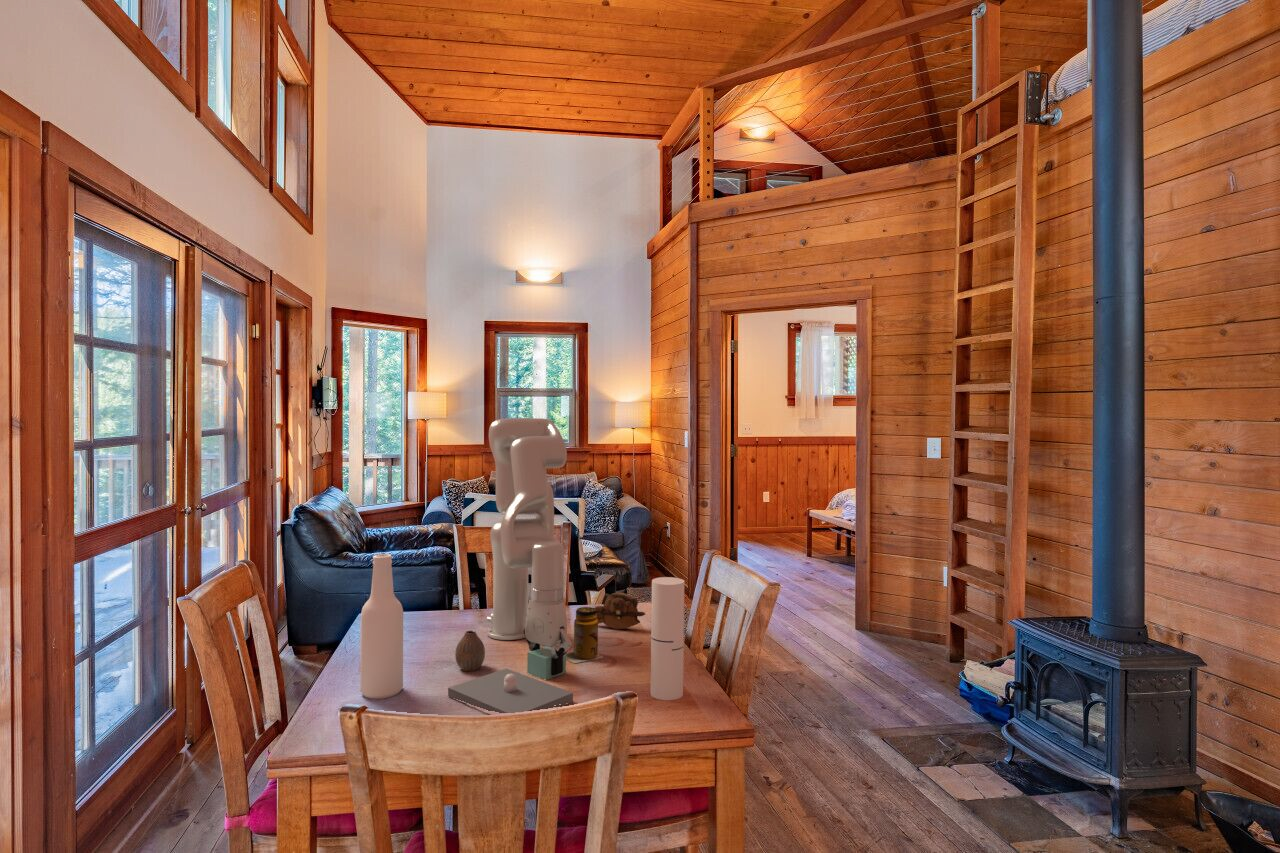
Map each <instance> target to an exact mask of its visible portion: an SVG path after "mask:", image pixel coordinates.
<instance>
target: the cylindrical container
mask: <svg viewBox="0 0 1280 853" xmlns="http://www.w3.org/2000/svg"><path fill="white" fill-rule="evenodd" d="M650 621H651V624H650V625H651V626H650V627H651V628H650V630H651V632H650V636H651V637H650V696H651V697H652V698H654V699H657V700H661V701H675V700H679V699H681V698H682V697H683V696H684V645H685V644H684V643H685V642H684V639H685V637H684V636H685V580H684V579H683V578H679V577H672V576H669V577H668V576H662V577H661V576H660V577H655V578H653V579H652V580H651V620H650Z"/></svg>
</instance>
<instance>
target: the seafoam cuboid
mask: <svg viewBox="0 0 1280 853" xmlns="http://www.w3.org/2000/svg"><path fill="white" fill-rule="evenodd" d="M556 649H557V651H558V650H559V648H556ZM526 654H527V663H526V665H527V668H526V674H527V673H529V674H528V675H530V674H532V675H531V676H533V675H534V676H533V677H536V676H537V677H536V678H538V677H540V678H539V679H541V678H543V679H542V680H544V679H547V680H549V678H550V679H553V678H555V676H556V677H558V676H561V675H564V674H566V673H567V671H566V670H567V659H566V654H567V652H566V653H565V656H563V672H562V673H559V674H557V675H558V676H557V675H552V674H551V659H552V658H554V657H553V654H552V650H551V647H547V646H543V647H540V649H537V650H533V651H530V650H529V651H528V652H527V653H526ZM563 673H564V674H563ZM560 674H561V675H560ZM552 677H553V678H552Z"/></svg>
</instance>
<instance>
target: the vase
mask: <svg viewBox="0 0 1280 853" xmlns="http://www.w3.org/2000/svg"><path fill="white" fill-rule="evenodd" d="M454 656H455V662H456V664H457V666H458V667H459V668H460V669H461V670H462V671H463V672H464V671H465V672H473V671H476V670H478V669H480V667H481V666H482V665H483V663H484V661H485V656H486V649H485V645H484V642H483V640H482V639H481V638H480V637H479V636H478V634H477V632H476V631H475V630H466V631H465V632H464V635H463V636H462V637H461V639H460V640H459V641H458V643H457V646H456V649H455V654H454Z"/></svg>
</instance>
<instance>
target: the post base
mask: <svg viewBox="0 0 1280 853" xmlns="http://www.w3.org/2000/svg"><path fill="white" fill-rule="evenodd" d="M448 696H449V697H448ZM447 697H448V698H450V697H452V698H455V699H458V700H461V701H464V702H466V703H469V704H471V705H474V706H477V707H480V708H483V709H486V710H488V711H495V712H499V713H515V712H524V711H532V710H540V709H548V708H553V707H559V706H562V707H564V706H567V705H569V704H571V703H572V704H573V703H574V693H573V692H572V691H569V690H567V689H564V688H561V687H558V686H556V685H553V684H550V683H548V682H545V681H541V680H539V679H536V678H534V677H531V676H528V675H525V674H523V673H520V672H517V671H514V670H511V669H509V668H502V669H501V670H497V671H494V672H492V673H488V674H485V675H483V676H479V677H476V678H473V679H470V680H468V681H464V682H462V683H458V684H455V685H452V686H449V687H447ZM452 698H451V699H452ZM566 703H568V704H566ZM559 704H561V705H559ZM554 705H556V706H554Z"/></svg>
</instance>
